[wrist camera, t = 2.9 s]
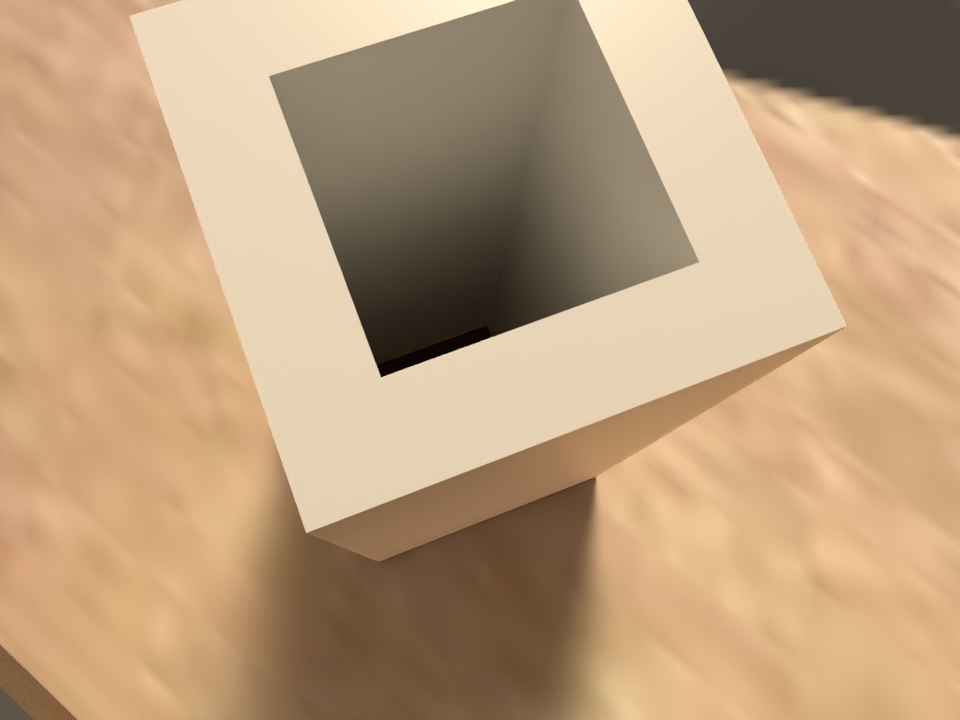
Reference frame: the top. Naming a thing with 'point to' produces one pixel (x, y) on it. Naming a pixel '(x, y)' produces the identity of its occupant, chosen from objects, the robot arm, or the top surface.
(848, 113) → the top surface
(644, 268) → the sleeve
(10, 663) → the seat plate
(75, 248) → the top surface
